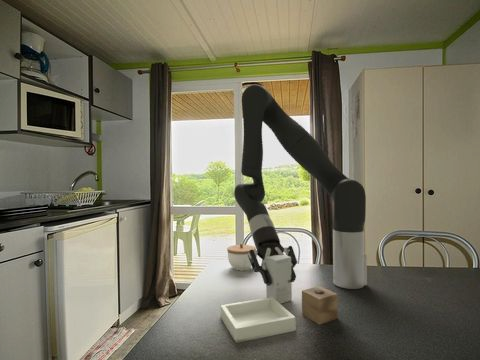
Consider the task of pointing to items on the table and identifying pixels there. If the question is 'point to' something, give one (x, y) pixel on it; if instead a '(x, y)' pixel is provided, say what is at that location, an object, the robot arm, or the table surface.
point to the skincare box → (279, 278)
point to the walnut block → (319, 304)
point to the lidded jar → (240, 256)
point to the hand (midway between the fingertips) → (281, 282)
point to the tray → (257, 319)
